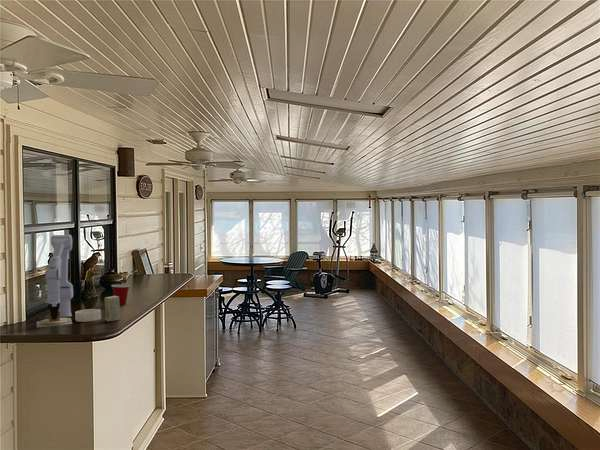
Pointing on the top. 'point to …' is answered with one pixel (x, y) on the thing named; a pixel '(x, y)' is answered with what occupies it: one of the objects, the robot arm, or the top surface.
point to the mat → (54, 325)
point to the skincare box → (112, 308)
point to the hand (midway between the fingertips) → (54, 318)
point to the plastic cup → (121, 292)
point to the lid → (55, 321)
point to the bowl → (88, 315)
